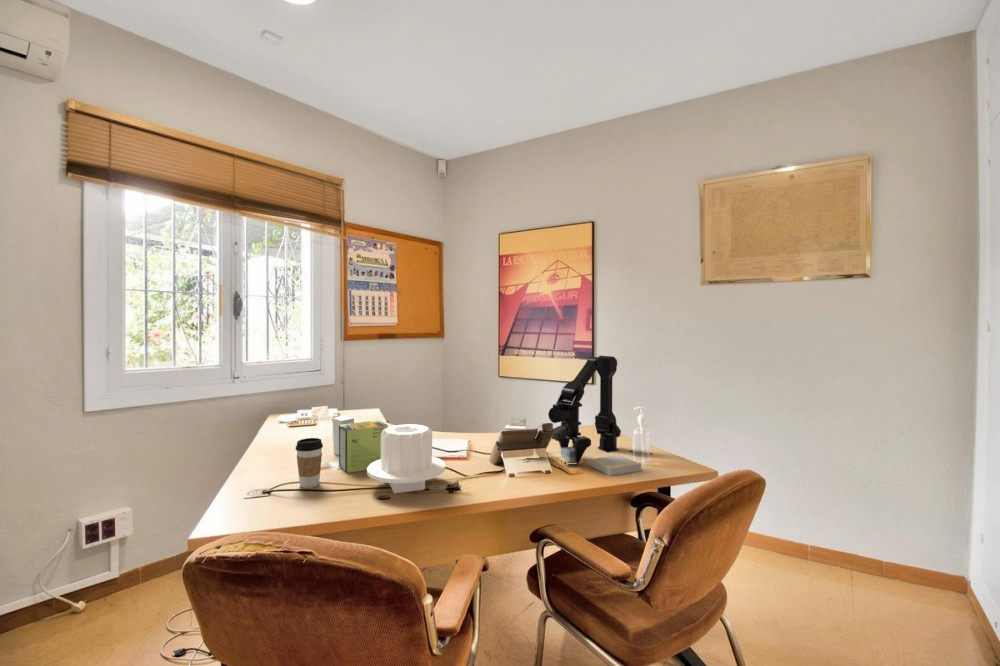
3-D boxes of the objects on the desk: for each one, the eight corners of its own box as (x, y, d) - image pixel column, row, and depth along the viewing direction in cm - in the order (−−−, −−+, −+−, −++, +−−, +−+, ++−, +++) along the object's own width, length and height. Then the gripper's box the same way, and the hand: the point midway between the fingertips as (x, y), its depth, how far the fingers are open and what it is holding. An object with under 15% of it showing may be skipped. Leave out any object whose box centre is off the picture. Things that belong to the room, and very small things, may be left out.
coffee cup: (296, 491, 148) (296, 444, 147) (294, 482, 155) (294, 438, 155) (324, 486, 152) (324, 441, 151) (321, 478, 159) (321, 435, 159)
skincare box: (355, 455, 187) (355, 418, 186) (341, 458, 182) (341, 420, 182) (346, 450, 193) (346, 414, 192) (332, 453, 188) (331, 416, 188)
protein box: (388, 466, 173) (388, 424, 173) (346, 473, 165) (346, 430, 164) (378, 458, 182) (378, 419, 181) (338, 465, 173) (338, 424, 173)
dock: (619, 461, 181) (619, 454, 181) (641, 470, 170) (641, 463, 170) (589, 465, 175) (590, 458, 175) (609, 475, 164) (610, 468, 164)
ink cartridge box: (504, 456, 186) (504, 420, 185) (505, 453, 191) (505, 417, 190) (525, 457, 185) (525, 420, 185) (526, 453, 190) (526, 418, 190)
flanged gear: (363, 478, 160) (363, 423, 159) (434, 470, 169) (435, 418, 168) (372, 506, 137) (371, 442, 136) (454, 494, 146) (454, 435, 145)
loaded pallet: (574, 458, 184) (574, 446, 184) (582, 463, 179) (582, 450, 179) (558, 460, 181) (558, 448, 181) (567, 465, 176) (567, 452, 176)
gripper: (541, 415, 185) (540, 454, 185) (566, 426, 168) (566, 469, 168) (565, 413, 189) (564, 451, 190) (592, 423, 172) (591, 465, 173)
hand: (570, 459), depth 180 cm, fingers open, 9 cm apart
